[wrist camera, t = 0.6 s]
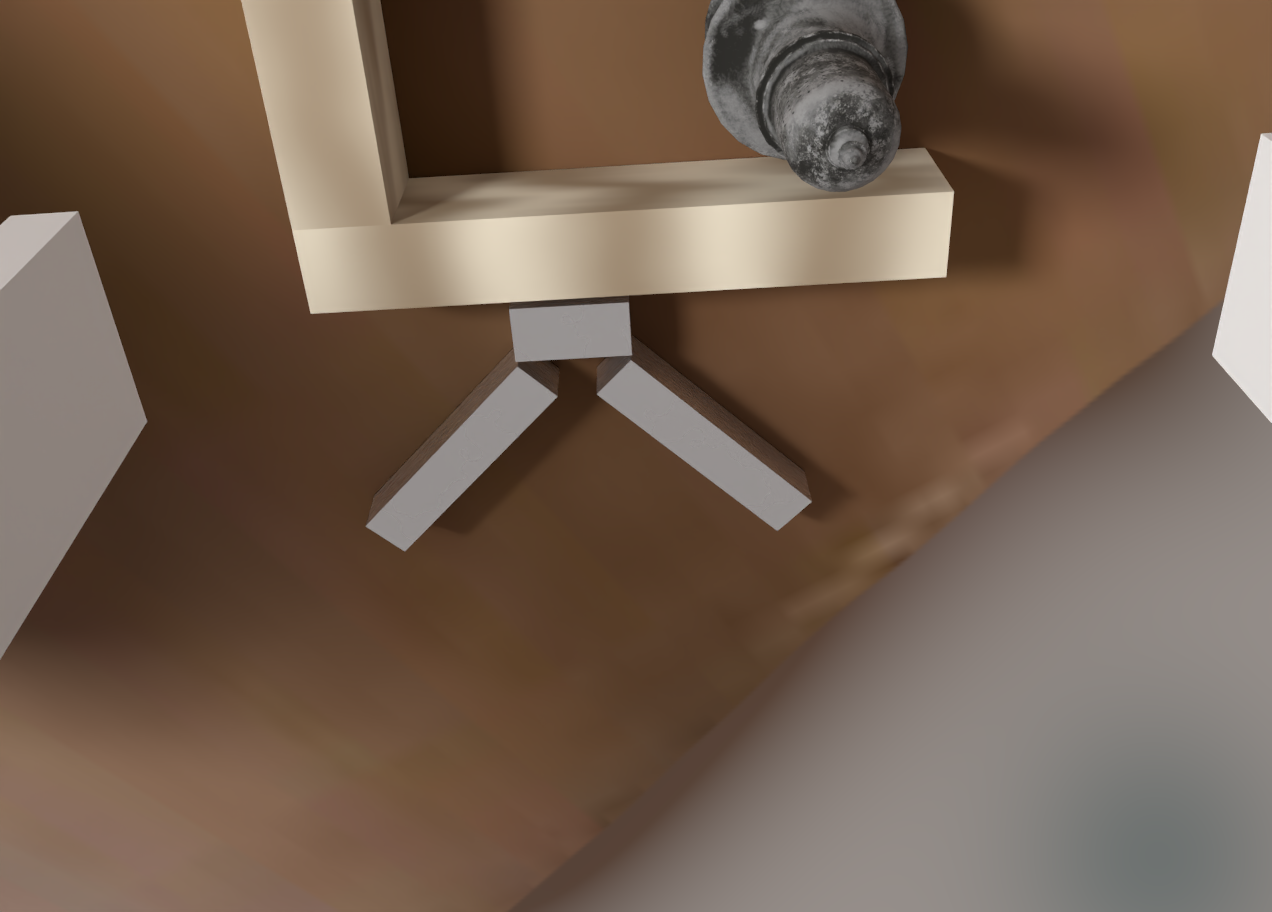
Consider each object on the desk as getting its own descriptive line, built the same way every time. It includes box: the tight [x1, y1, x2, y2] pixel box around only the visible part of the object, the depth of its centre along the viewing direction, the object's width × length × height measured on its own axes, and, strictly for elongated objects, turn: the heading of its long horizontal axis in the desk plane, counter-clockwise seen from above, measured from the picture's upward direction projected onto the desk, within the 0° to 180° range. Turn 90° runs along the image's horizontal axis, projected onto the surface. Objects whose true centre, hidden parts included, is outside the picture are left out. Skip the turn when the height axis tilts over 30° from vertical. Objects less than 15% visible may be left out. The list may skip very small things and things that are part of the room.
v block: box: [366, 295, 812, 551], centre depth 44 cm, size 10×17×2 cm, turn 93°
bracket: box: [241, 0, 954, 314], centre depth 36 cm, size 20×14×4 cm
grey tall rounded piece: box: [703, 0, 908, 192], centre depth 33 cm, size 6×6×12 cm
